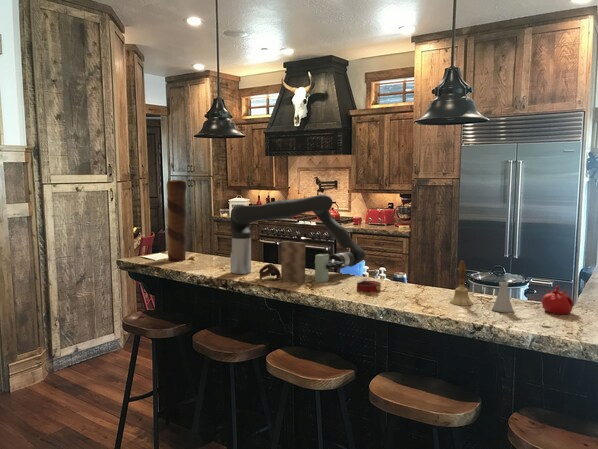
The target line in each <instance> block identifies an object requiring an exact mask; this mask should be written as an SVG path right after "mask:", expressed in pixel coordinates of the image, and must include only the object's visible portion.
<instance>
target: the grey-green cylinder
mask: <svg viewBox="0 0 598 449" xmlns="http://www.w3.org/2000/svg"><path fill="white" fill-rule="evenodd" d="M314 256H315V258H314V261H315V268H314V282H316V283H325V282H328V281H329V269H326V265H327V264H329V256H330V255H329V254H327V253H319V254H316V255H314Z"/></svg>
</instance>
